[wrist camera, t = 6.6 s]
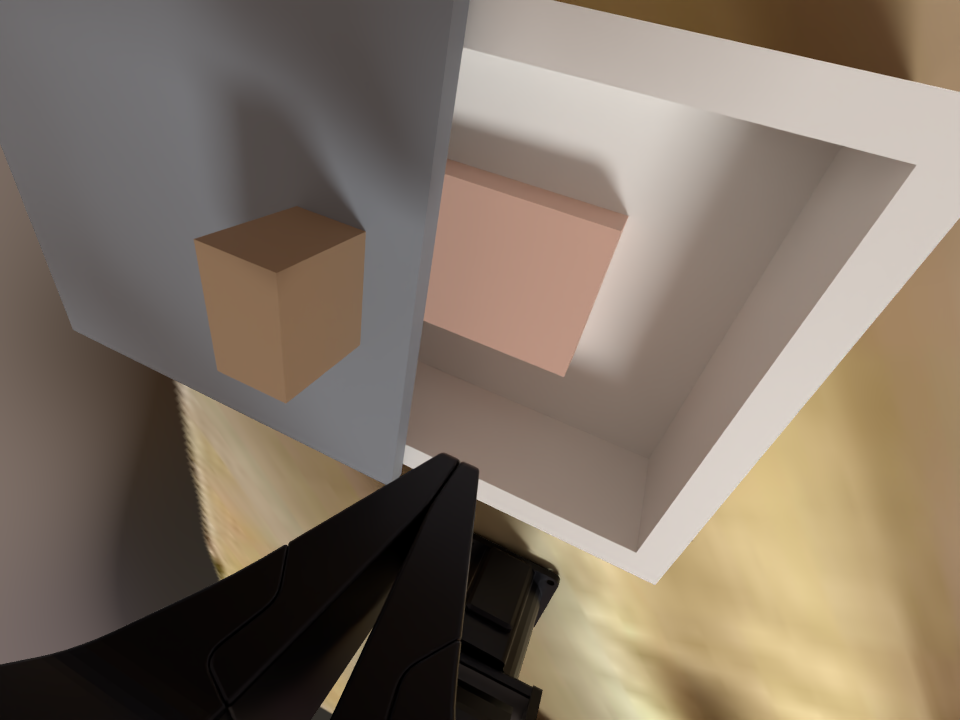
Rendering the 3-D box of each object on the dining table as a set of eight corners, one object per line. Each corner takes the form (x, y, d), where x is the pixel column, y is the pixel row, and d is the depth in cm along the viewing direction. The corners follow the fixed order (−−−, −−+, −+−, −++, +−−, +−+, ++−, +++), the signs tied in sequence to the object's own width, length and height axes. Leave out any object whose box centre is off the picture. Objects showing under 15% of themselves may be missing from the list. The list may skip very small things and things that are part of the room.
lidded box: (664, 475, 22) (655, 585, 17) (345, 338, 25) (265, 397, 21) (915, 98, 12) (1047, 112, 8) (355, -32, 16) (214, -77, 11)
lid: (401, 474, 19) (338, 558, 16) (90, 322, 23) (-15, 365, 20) (476, -43, 10) (354, -110, 6) (-86, -163, 13) (-355, -245, 10)
